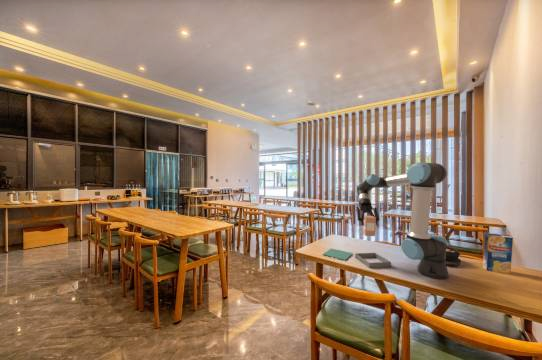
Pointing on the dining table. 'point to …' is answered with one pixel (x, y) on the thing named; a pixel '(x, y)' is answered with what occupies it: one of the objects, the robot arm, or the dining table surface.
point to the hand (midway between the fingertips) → (370, 229)
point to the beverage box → (497, 253)
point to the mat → (338, 254)
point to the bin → (372, 265)
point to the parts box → (369, 225)
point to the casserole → (452, 256)
